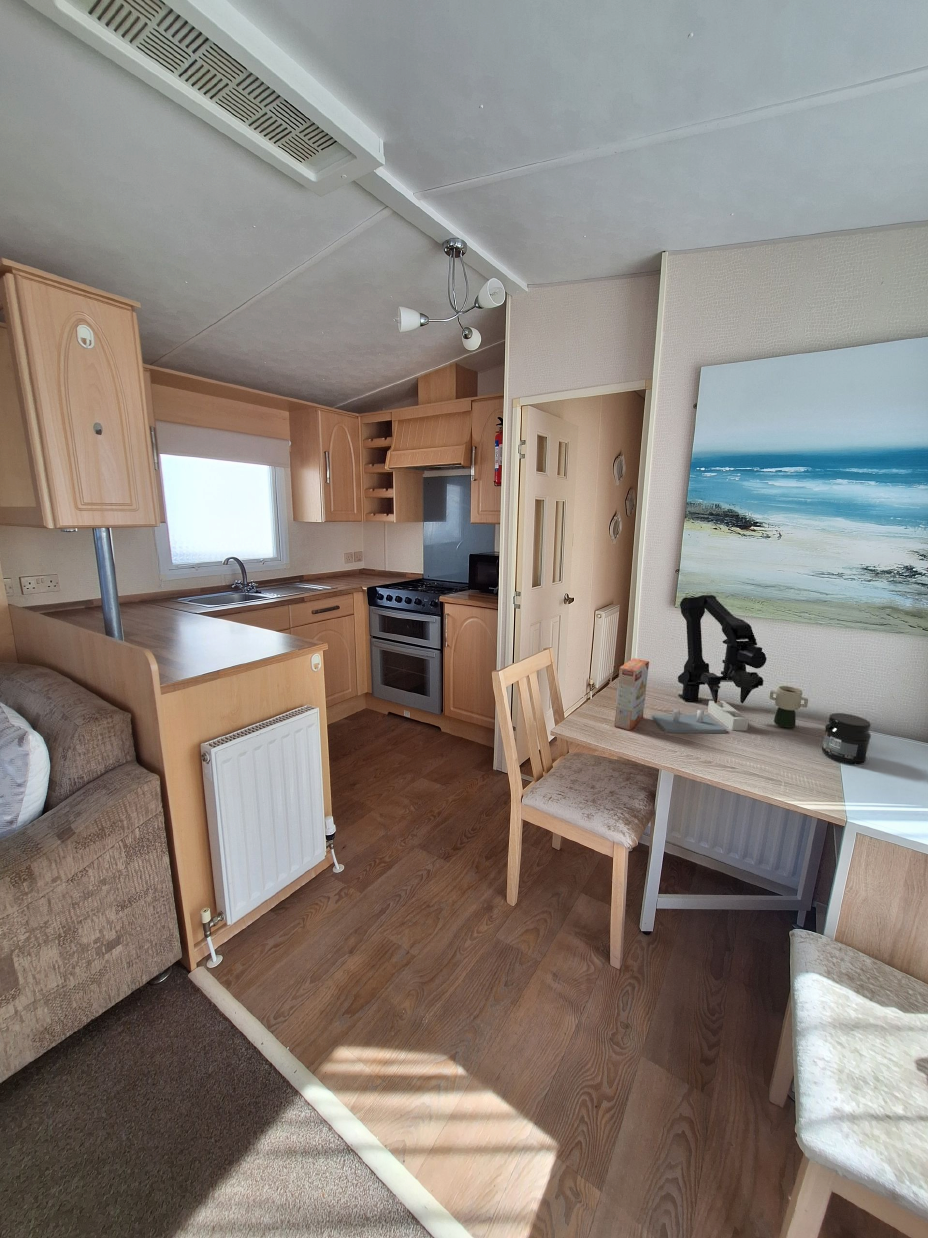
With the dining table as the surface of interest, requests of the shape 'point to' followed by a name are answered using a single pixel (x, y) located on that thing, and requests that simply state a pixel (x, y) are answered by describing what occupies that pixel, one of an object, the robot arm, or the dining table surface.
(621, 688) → the cracker box
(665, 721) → the stud board
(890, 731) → the dining table surface
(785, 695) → the character mug
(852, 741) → the supplement container
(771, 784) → the dining table surface
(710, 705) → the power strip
